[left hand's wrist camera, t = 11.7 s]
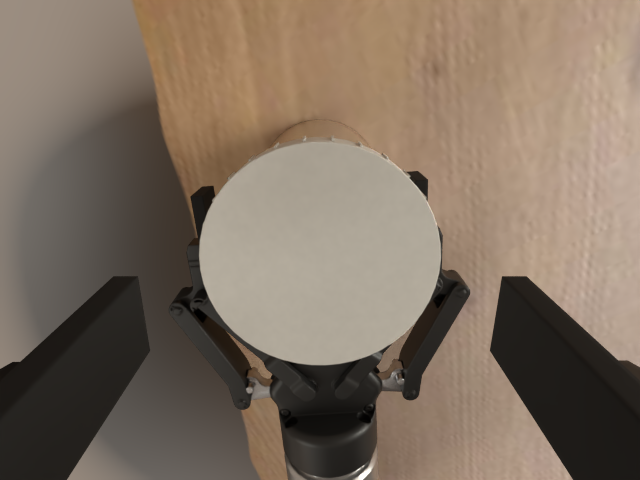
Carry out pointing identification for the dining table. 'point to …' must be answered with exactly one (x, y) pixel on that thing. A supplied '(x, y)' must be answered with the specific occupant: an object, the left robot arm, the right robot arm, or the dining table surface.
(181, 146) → the dining table surface
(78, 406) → the left robot arm
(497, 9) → the dining table surface
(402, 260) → the lid
